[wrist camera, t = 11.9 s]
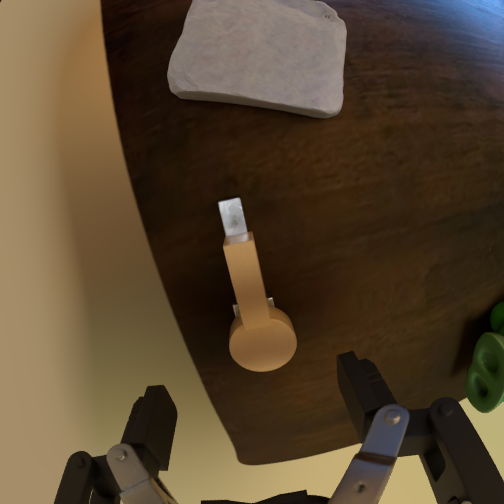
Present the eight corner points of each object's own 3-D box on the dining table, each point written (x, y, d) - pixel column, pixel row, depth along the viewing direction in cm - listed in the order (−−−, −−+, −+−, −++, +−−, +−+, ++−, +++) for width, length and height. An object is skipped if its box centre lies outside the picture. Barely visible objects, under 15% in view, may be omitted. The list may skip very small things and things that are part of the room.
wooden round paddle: (203, 241, 21) (198, 251, 19) (274, 226, 21) (278, 234, 19) (237, 361, 25) (237, 379, 22) (296, 350, 24) (301, 367, 22)
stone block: (194, 11, 18) (169, 110, 19) (190, -24, 13) (155, 83, 14) (333, 32, 19) (330, 131, 20) (353, 2, 14) (356, 111, 15)
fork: (208, 202, 21) (206, 204, 20) (250, 192, 21) (251, 194, 20) (249, 358, 26) (249, 366, 25) (283, 351, 26) (285, 359, 25)
